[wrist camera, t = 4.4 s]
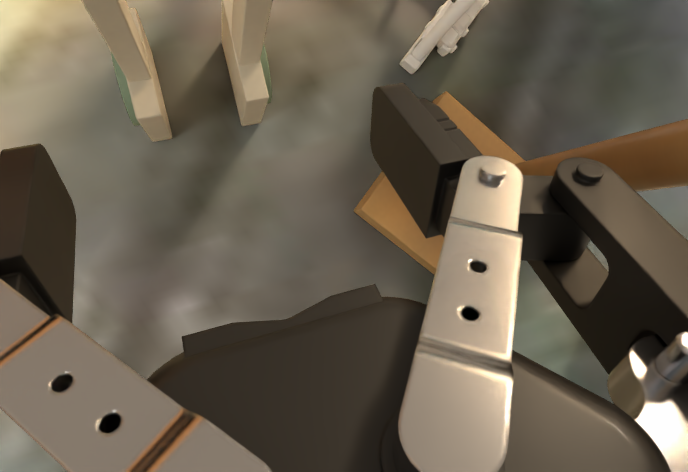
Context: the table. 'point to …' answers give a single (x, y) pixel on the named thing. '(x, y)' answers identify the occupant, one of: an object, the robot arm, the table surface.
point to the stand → (533, 173)
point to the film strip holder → (443, 31)
